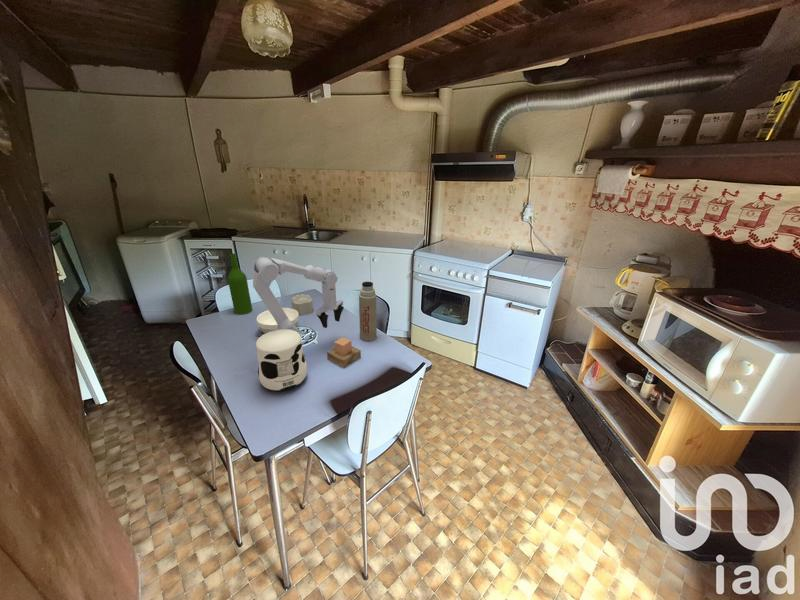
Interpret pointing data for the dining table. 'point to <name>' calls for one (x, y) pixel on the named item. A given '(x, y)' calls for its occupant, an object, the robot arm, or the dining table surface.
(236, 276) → the wine bottle
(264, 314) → the bowl
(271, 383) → the milk container
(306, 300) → the lumpy-topped squat cylinder
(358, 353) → the walnut base
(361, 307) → the thermos bottle
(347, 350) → the terracotta cube
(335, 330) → the dining table surface
